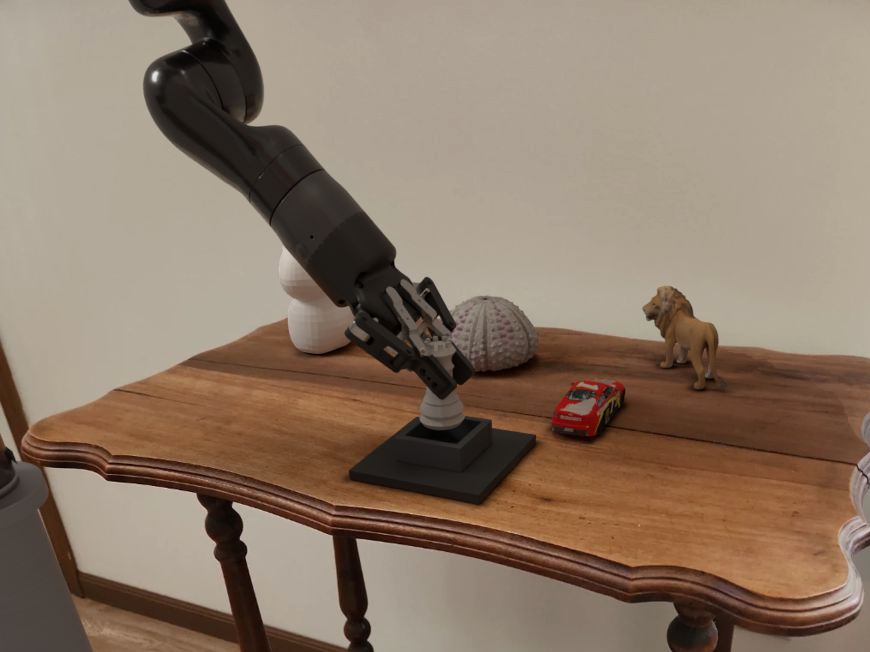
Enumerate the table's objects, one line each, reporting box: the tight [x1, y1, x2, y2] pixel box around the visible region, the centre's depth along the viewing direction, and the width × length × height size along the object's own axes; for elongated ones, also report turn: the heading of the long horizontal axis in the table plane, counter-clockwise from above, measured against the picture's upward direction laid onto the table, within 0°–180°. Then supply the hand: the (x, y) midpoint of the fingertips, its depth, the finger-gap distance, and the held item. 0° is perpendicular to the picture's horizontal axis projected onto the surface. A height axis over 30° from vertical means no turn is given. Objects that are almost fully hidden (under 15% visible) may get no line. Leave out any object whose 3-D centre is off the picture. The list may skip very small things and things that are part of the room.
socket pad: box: [348, 415, 537, 505], centre depth 80 cm, size 14×14×4 cm
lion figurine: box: [641, 285, 728, 390], centre depth 95 cm, size 15×5×9 cm, turn 24°
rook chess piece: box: [419, 336, 466, 430], centre depth 77 cm, size 4×4×8 cm
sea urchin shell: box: [441, 295, 540, 373], centre depth 102 cm, size 13×14×8 cm
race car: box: [551, 377, 627, 438], centre depth 87 cm, size 13×5×4 cm, turn 153°
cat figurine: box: [278, 241, 354, 355], centre depth 109 cm, size 9×12×15 cm
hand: (459, 385), depth 76 cm, fingers closed on rook chess piece, 3 cm apart
